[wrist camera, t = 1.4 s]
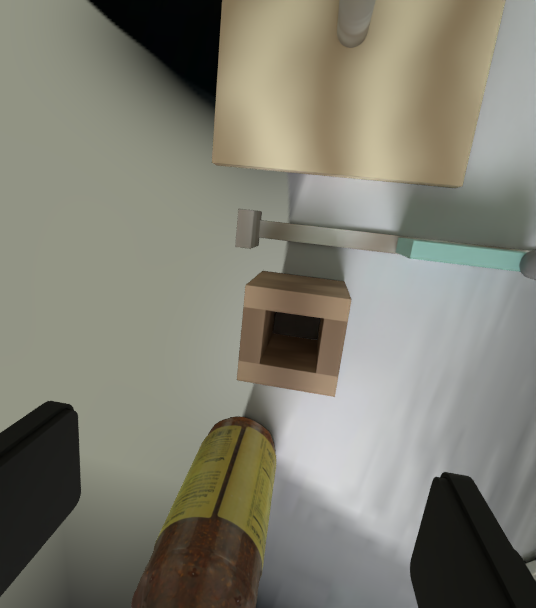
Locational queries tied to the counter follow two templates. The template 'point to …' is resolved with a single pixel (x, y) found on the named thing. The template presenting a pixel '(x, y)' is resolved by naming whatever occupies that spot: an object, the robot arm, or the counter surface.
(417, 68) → the seat
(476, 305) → the counter surface
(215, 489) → the sauce bottle
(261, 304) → the block
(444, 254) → the bar
